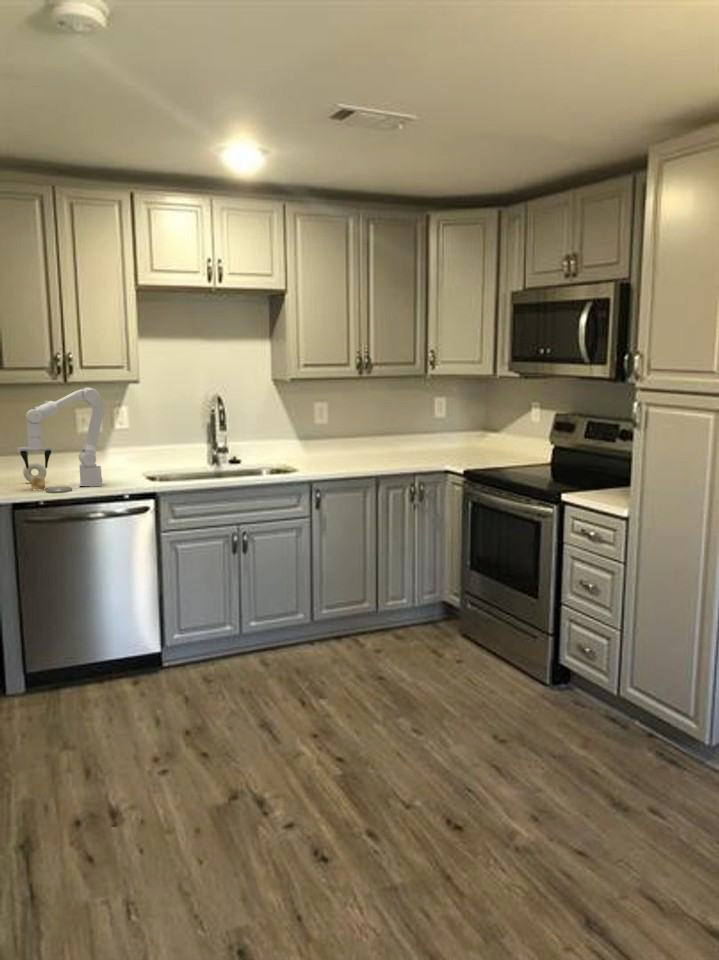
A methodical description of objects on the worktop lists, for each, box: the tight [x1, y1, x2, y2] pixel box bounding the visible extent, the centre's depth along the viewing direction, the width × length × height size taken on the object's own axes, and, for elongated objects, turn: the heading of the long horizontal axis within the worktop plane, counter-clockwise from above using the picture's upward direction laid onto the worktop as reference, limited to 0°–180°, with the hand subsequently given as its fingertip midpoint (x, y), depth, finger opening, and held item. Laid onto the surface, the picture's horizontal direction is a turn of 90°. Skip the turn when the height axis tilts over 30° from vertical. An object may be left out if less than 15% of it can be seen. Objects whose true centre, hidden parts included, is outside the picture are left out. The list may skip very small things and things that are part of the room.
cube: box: [30, 477, 46, 490], centre depth 350 cm, size 5×5×5 cm
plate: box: [44, 486, 73, 494], centre depth 346 cm, size 11×11×1 cm
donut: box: [22, 461, 47, 483], centre depth 366 cm, size 10×4×10 cm, turn 108°
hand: (36, 467), depth 349 cm, fingers open, 7 cm apart
